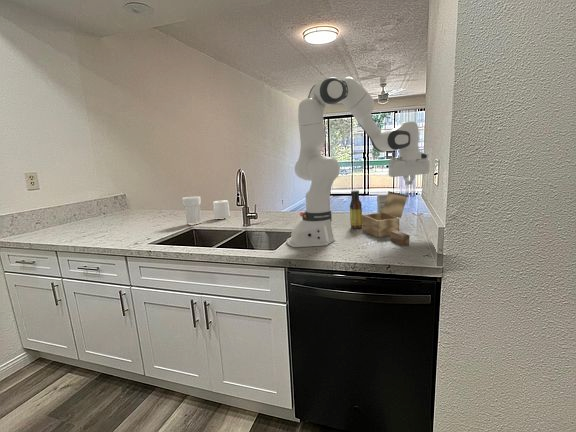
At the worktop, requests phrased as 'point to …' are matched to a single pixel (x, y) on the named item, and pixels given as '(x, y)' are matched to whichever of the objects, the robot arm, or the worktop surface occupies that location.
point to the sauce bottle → (355, 210)
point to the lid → (395, 204)
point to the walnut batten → (400, 238)
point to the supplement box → (381, 202)
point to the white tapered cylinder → (221, 209)
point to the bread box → (379, 224)
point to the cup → (192, 209)
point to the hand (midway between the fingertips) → (409, 184)
